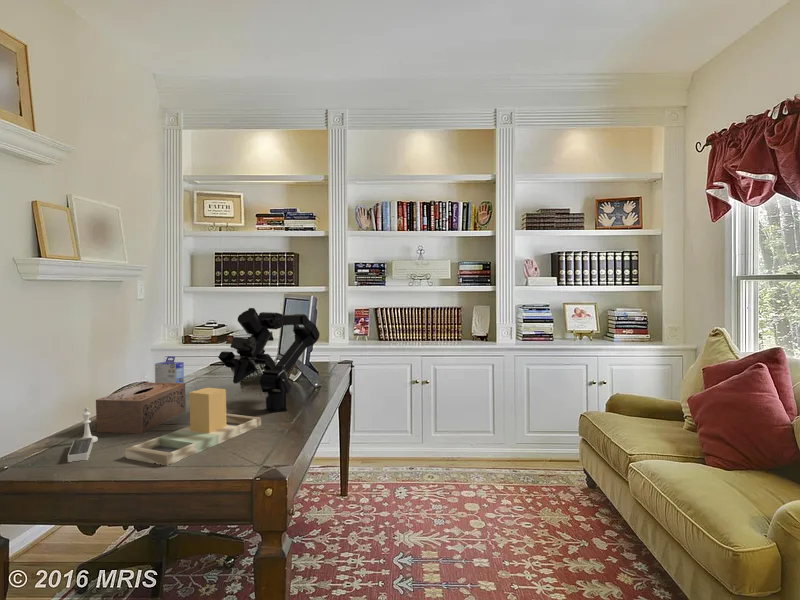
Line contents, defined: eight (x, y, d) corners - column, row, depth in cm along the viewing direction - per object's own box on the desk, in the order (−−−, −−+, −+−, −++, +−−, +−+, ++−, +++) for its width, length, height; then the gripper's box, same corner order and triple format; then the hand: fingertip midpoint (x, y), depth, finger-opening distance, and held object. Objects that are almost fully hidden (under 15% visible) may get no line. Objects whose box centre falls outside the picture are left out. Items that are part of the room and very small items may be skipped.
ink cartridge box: (185, 391, 211) (184, 356, 211) (176, 394, 206) (175, 358, 205) (163, 390, 213) (162, 355, 213) (154, 393, 208) (153, 357, 207)
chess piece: (79, 439, 149) (78, 405, 148) (99, 437, 151) (97, 403, 150) (75, 445, 144) (73, 409, 144) (95, 442, 146) (94, 407, 145)
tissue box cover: (146, 410, 182) (145, 382, 182) (185, 411, 181) (185, 383, 180) (96, 432, 157) (95, 399, 156) (142, 433, 155) (141, 400, 155)
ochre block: (207, 423, 155) (207, 387, 155) (226, 426, 153) (225, 389, 152) (190, 430, 149) (189, 392, 149) (209, 433, 146) (208, 394, 146)
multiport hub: (67, 464, 130) (67, 455, 130) (74, 447, 143) (74, 439, 143) (88, 461, 132) (87, 452, 132) (93, 445, 145) (92, 437, 145)
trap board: (225, 421, 168) (225, 413, 167) (261, 425, 162) (260, 417, 162) (125, 458, 133) (125, 448, 133) (166, 465, 128) (166, 455, 128)
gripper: (221, 326, 169) (197, 365, 159) (269, 328, 162) (246, 369, 152) (238, 347, 176) (215, 386, 167) (284, 350, 169) (263, 390, 160)
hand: (234, 382), depth 161 cm, fingers closed
